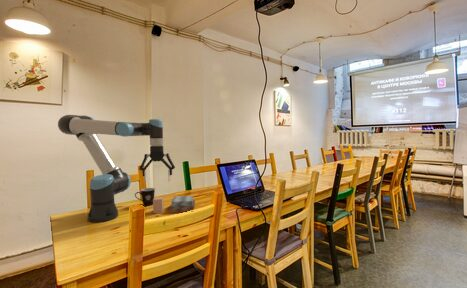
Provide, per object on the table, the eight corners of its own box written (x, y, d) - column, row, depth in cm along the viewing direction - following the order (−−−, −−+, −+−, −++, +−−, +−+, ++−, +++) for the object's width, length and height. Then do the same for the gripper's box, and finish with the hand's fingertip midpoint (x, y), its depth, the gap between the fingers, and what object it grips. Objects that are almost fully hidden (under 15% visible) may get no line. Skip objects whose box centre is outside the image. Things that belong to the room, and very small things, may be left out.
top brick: (153, 213, 143) (152, 199, 143) (155, 210, 148) (154, 197, 148) (162, 212, 144) (161, 199, 144) (163, 210, 149) (163, 197, 148)
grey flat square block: (169, 212, 144) (169, 202, 144) (173, 205, 158) (172, 196, 158) (193, 211, 145) (193, 201, 145) (195, 204, 159) (194, 195, 159)
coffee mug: (157, 202, 165) (156, 187, 164) (151, 206, 156) (151, 191, 155) (140, 202, 166) (140, 187, 165) (134, 206, 157) (133, 190, 157)
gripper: (132, 146, 139) (134, 183, 140) (177, 145, 142) (178, 181, 143) (136, 145, 146) (137, 180, 148) (178, 144, 149) (179, 179, 150)
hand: (157, 181), depth 145 cm, fingers open, 13 cm apart
